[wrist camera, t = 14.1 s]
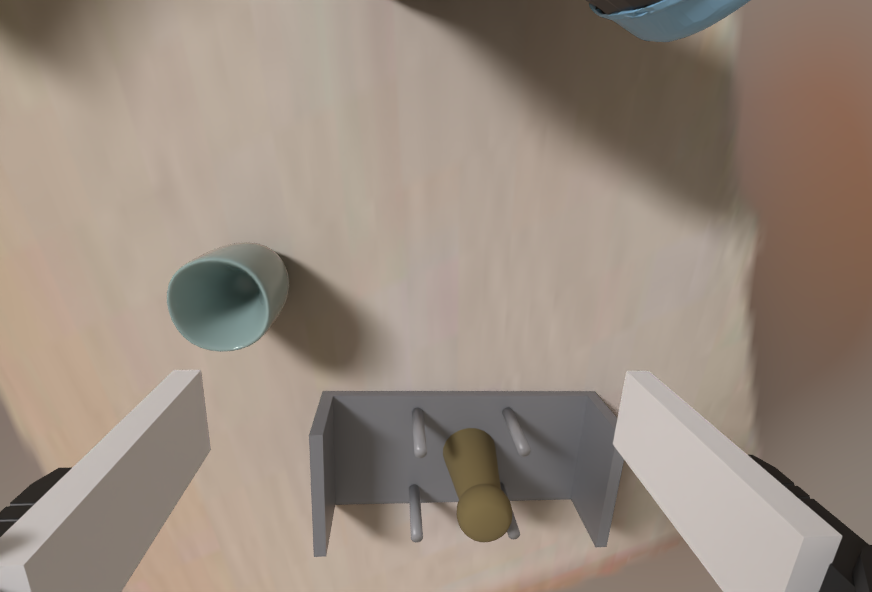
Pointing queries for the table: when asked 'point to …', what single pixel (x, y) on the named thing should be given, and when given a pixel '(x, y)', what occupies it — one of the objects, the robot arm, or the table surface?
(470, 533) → the cork
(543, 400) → the rack
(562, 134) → the table surface
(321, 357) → the table surface
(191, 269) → the cup
